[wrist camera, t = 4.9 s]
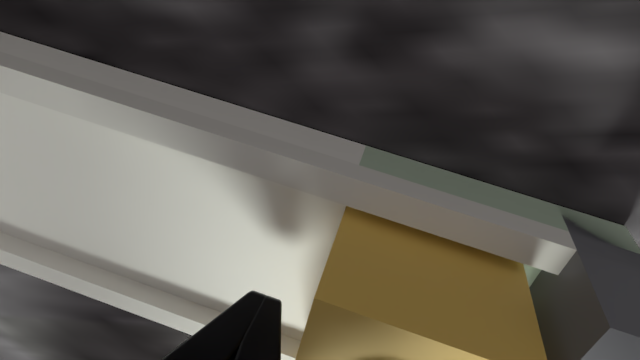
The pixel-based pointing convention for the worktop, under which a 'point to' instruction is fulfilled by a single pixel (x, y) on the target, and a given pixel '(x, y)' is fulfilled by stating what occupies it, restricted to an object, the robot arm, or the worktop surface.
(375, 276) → the carriage
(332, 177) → the rail
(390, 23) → the worktop surface
